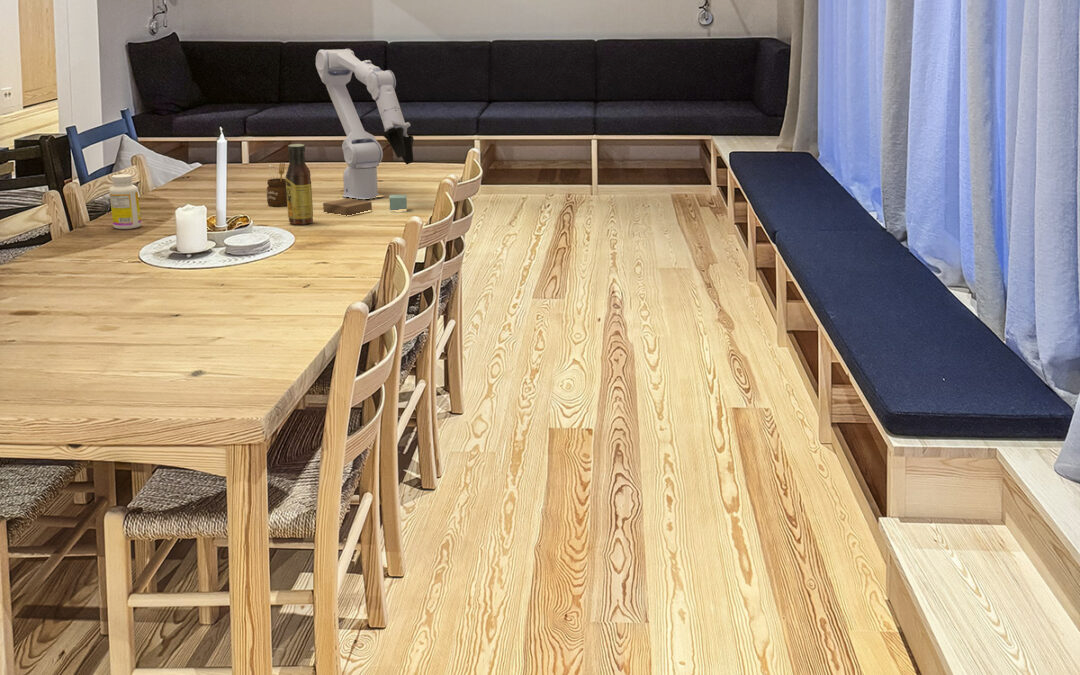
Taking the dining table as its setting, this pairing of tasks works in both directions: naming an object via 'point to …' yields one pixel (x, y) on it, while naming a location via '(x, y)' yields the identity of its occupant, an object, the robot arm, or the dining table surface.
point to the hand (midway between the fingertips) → (405, 159)
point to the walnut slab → (347, 206)
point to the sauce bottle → (298, 187)
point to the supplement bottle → (124, 202)
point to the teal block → (398, 202)
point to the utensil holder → (277, 189)
